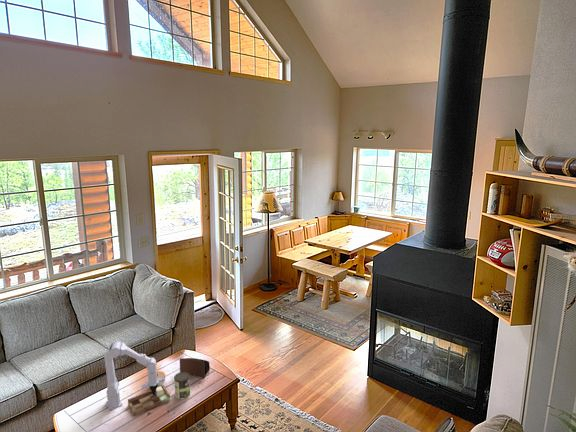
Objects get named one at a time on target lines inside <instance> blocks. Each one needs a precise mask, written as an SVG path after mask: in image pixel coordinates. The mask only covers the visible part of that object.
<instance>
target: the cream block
mask: <svg viewBox="0 0 576 432" xmlns="http://www.w3.org/2000/svg"><path fill="white" fill-rule="evenodd" d="M155 394H156V395H157V397H158V396H161V395H163V389H162V387H161V386H160V387H158V388H157V389H156V392H155Z"/></svg>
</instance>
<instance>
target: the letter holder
mask: <svg viewBox="0 0 576 432" xmlns="http://www.w3.org/2000/svg"><path fill="white" fill-rule="evenodd" d="M210 368H211V367H210V361H209V360H206V359H201V358H195V357H187V358H184V357H183V358H179V373H180V372H187V373H189V375H190V377H195V378H201V377H202V378H203V379H205V378H206V377H207V375H208V374H207V373H209V372H210V371H209V370H211V369H210ZM202 378H201V379H202Z"/></svg>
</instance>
